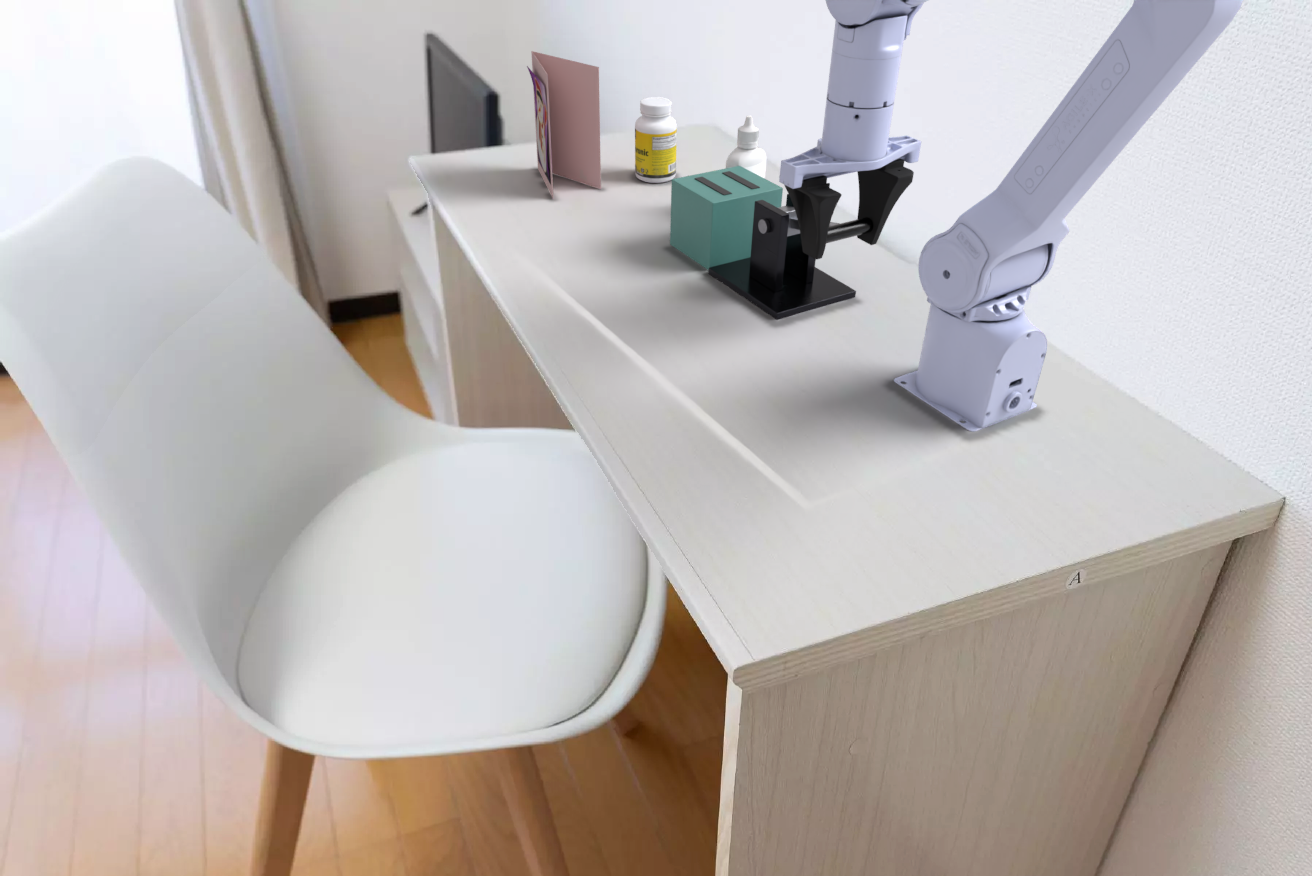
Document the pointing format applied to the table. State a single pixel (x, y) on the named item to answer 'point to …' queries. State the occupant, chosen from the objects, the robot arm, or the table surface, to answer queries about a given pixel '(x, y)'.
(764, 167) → the eye dropper bottle
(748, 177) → the toaster
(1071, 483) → the table surface
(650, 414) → the table surface
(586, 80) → the greeting card
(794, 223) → the lever
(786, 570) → the table surface
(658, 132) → the supplement bottle
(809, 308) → the switch bracket
